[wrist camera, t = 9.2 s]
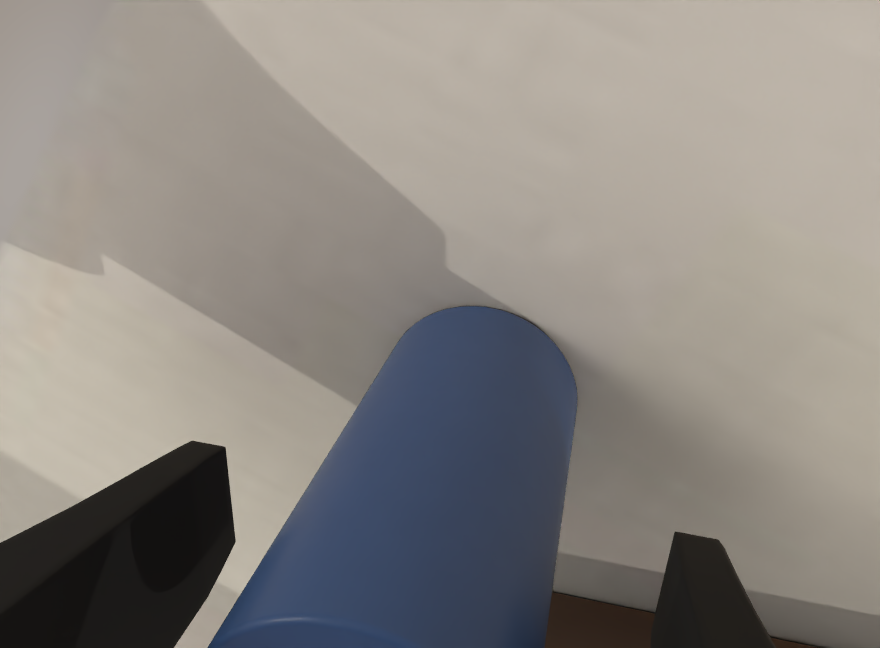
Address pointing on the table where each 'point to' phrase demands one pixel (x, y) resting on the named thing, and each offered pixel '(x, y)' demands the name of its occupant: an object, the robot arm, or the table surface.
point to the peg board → (604, 625)
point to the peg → (429, 502)
